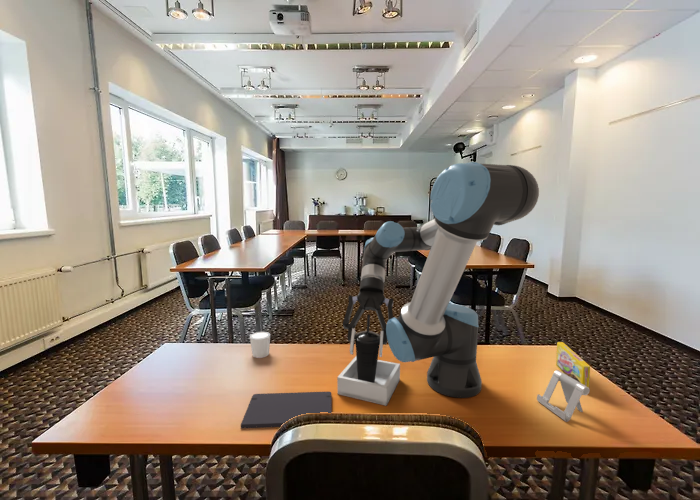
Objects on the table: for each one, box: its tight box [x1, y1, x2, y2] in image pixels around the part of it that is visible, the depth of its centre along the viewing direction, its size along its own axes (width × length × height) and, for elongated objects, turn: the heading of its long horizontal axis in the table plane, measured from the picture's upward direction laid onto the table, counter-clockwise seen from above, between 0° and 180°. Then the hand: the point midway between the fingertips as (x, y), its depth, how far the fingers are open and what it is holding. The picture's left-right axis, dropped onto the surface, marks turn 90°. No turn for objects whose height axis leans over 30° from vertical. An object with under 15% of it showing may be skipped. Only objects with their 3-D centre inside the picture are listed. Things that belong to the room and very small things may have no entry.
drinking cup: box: [354, 314, 380, 383], centre depth 96 cm, size 8×8×20 cm
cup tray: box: [336, 356, 401, 407], centre depth 96 cm, size 14×14×5 cm
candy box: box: [555, 341, 591, 395], centre depth 100 cm, size 16×2×8 cm, turn 171°
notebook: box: [240, 391, 333, 429], centre depth 85 cm, size 13×2×21 cm
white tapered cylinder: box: [249, 331, 271, 359], centre depth 116 cm, size 7×7×7 cm
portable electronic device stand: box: [536, 369, 590, 423], centre depth 85 cm, size 9×8×8 cm
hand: (365, 353), depth 92 cm, fingers open, 7 cm apart
